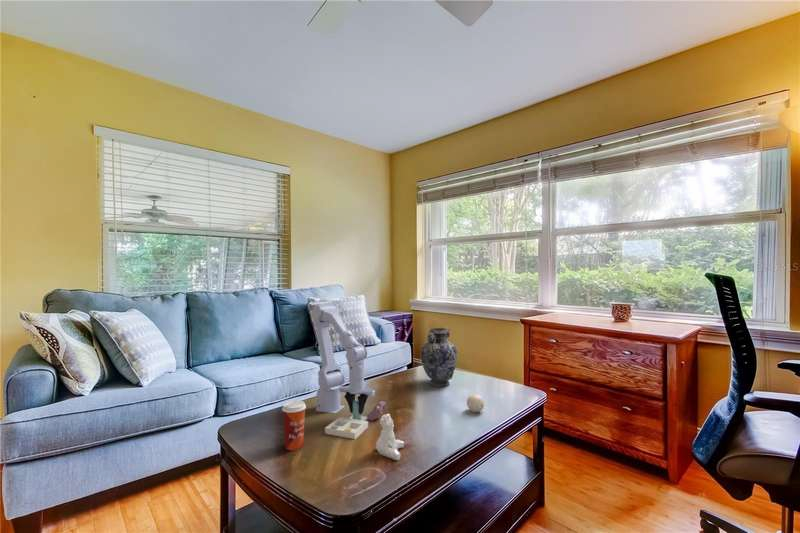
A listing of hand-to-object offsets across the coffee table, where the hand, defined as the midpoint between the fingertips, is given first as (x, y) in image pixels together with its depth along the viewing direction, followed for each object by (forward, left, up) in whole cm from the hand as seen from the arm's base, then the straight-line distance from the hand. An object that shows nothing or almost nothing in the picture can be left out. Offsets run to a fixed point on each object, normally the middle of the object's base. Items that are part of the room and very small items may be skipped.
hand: (356, 412), depth 136 cm
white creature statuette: (+21, -18, -3) cm, 28 cm away
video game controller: (+6, +6, -3) cm, 9 cm away
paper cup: (-10, -25, -3) cm, 27 cm away
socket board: (+1, -10, -3) cm, 10 cm away
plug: (0, 0, -3) cm, 3 cm away
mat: (0, 0, -3) cm, 3 cm away
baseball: (+42, +24, -3) cm, 48 cm away
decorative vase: (+19, +54, -3) cm, 57 cm away
